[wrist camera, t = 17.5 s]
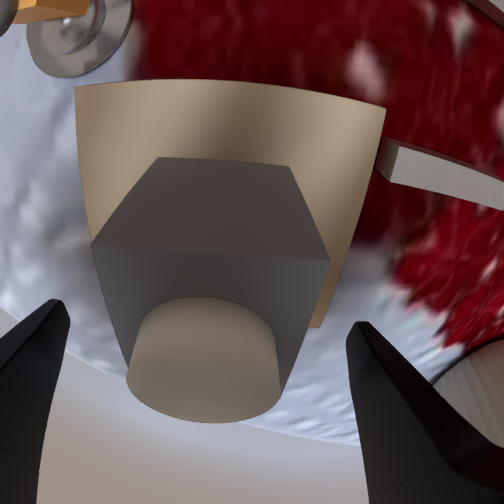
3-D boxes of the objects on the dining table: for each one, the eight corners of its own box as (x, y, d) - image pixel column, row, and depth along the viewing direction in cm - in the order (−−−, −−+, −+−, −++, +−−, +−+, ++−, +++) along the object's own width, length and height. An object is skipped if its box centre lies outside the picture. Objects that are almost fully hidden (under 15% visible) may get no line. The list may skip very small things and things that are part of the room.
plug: (289, 166, 11) (351, 313, 5) (267, 286, 14) (283, 436, 8) (157, 156, 10) (60, 292, 4) (164, 279, 14) (129, 425, 8)
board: (377, 105, 10) (386, 108, 9) (317, 317, 17) (319, 328, 16) (84, 85, 9) (75, 87, 8) (114, 304, 16) (110, 313, 15)
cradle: (519, 21, 6) (541, 23, 4) (486, 197, 12) (505, 212, 11) (54, -63, 4) (35, -71, 2) (36, 151, 10) (14, 164, 9)
